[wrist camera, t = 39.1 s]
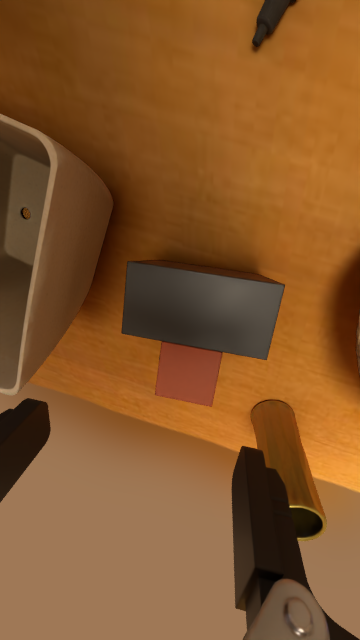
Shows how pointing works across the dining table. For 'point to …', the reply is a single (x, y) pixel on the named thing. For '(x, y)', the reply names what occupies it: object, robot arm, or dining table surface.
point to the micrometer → (269, 18)
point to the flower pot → (43, 246)
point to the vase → (289, 465)
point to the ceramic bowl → (358, 344)
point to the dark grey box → (198, 321)
